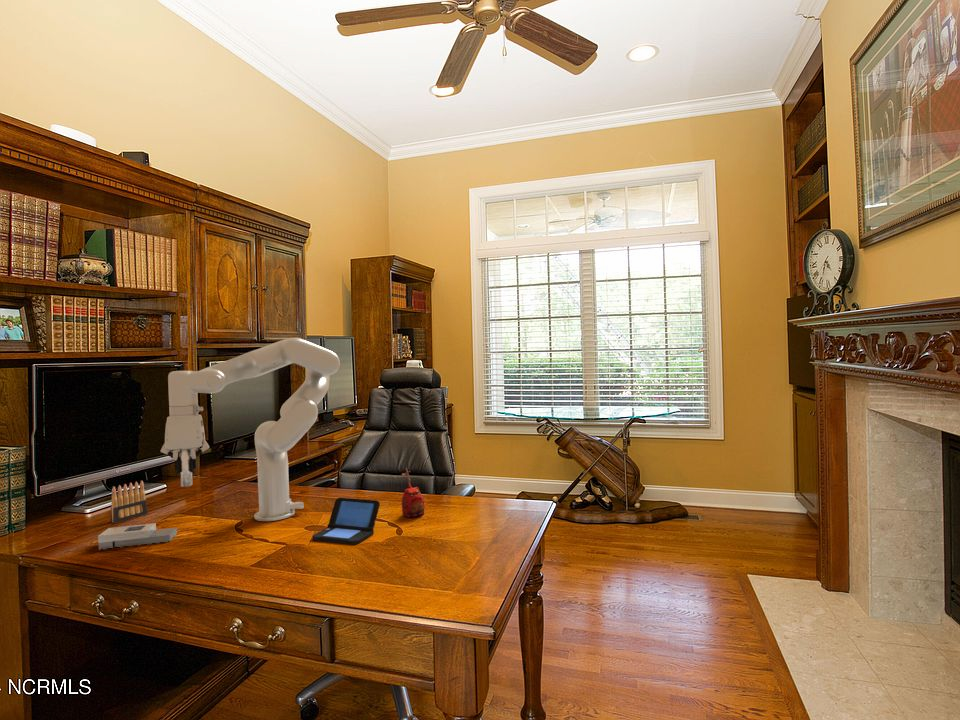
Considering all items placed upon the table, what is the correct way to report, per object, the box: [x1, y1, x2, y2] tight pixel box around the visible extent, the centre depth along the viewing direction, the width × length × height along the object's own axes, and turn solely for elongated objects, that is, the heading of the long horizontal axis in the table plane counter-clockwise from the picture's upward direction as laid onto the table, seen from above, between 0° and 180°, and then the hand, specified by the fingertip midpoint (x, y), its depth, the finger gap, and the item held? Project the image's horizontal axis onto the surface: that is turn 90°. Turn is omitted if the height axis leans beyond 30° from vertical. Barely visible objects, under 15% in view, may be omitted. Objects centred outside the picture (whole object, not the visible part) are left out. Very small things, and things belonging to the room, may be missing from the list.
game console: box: [311, 497, 381, 545], centre depth 154 cm, size 16×14×9 cm
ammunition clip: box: [110, 480, 148, 524], centre depth 177 cm, size 11×2×12 cm, turn 151°
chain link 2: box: [114, 527, 178, 548], centre depth 154 cm, size 14×7×2 cm, turn 105°
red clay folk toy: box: [401, 467, 426, 519], centre depth 171 cm, size 8×7×15 cm
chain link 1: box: [97, 522, 157, 551], centre depth 153 cm, size 12×7×4 cm, turn 105°
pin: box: [180, 449, 193, 487], centre depth 159 cm, size 4×4×13 cm
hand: (186, 471), depth 159 cm, fingers closed on pin, 3 cm apart
